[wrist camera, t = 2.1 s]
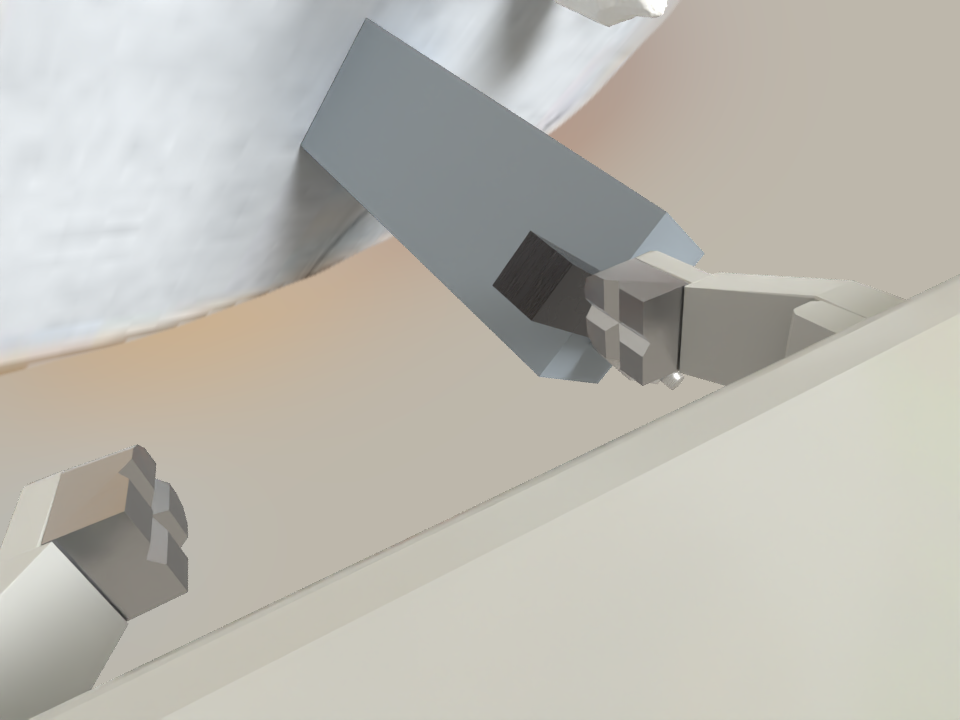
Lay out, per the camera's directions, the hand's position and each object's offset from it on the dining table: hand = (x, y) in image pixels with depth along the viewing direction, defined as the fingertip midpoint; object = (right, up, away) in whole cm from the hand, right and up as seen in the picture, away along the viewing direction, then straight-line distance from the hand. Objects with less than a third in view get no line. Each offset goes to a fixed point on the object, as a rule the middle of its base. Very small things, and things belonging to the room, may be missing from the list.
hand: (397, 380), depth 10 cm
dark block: (+7, +3, +17) cm, 18 cm away
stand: (-7, +20, +33) cm, 39 cm away
